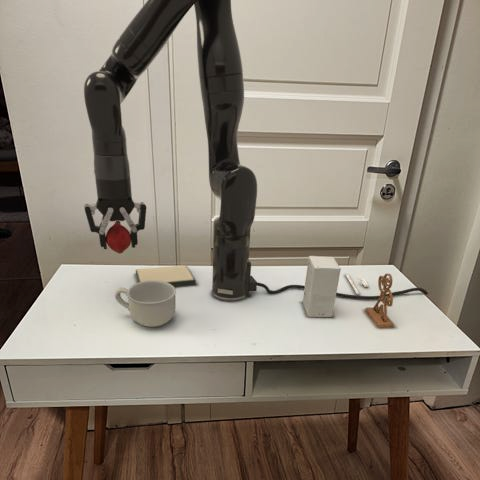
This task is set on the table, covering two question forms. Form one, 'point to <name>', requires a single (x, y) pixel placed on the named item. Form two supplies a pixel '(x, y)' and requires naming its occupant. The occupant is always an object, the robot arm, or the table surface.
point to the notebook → (167, 275)
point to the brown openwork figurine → (377, 312)
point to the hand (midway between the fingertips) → (119, 247)
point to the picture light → (353, 284)
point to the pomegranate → (118, 238)
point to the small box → (321, 286)
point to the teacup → (149, 302)
